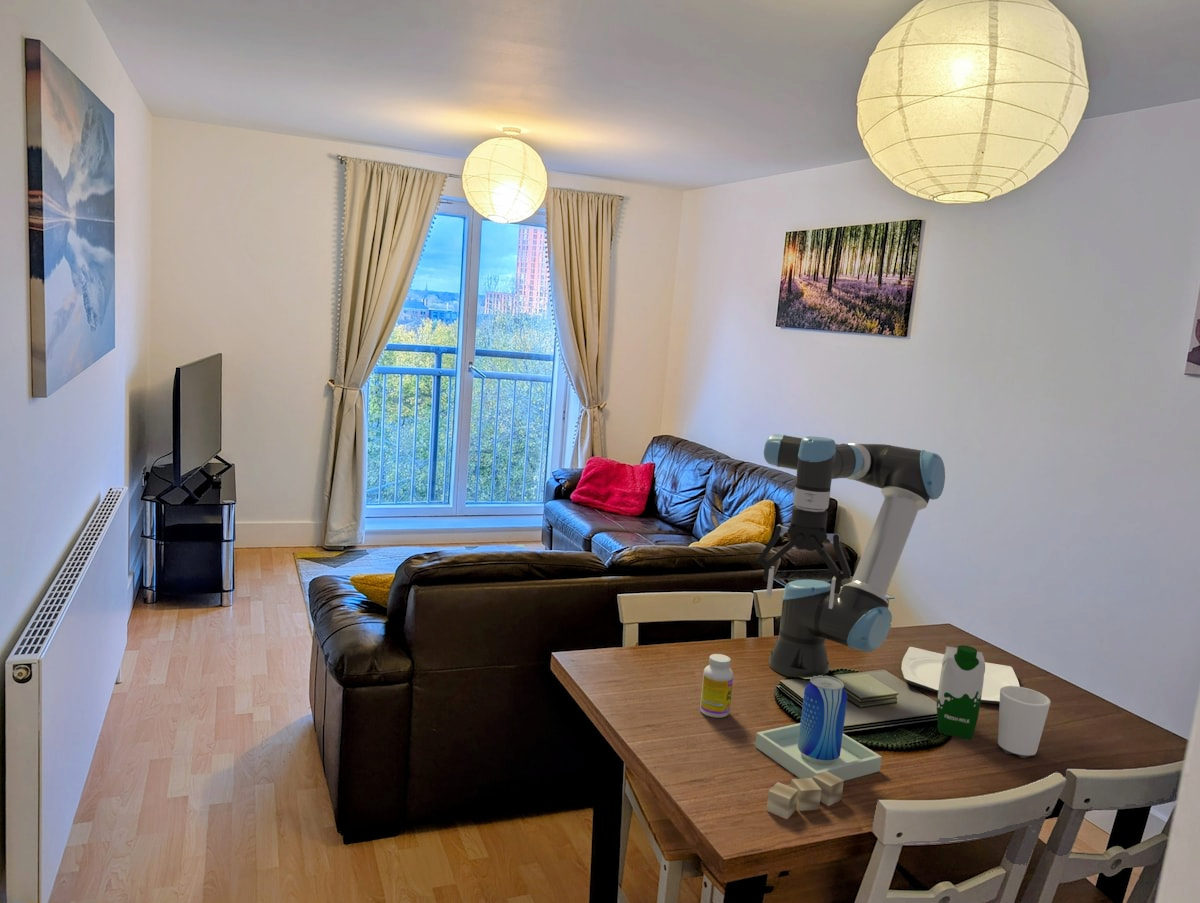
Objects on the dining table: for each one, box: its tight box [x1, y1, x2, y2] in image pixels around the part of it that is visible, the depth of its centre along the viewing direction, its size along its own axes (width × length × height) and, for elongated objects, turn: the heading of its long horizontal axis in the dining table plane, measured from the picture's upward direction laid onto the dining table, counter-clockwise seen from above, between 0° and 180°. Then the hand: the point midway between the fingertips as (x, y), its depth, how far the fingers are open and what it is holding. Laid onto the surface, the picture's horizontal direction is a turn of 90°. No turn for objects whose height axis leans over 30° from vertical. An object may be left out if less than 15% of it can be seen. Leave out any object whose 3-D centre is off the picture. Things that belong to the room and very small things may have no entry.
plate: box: [900, 646, 1021, 705], centre depth 224 cm, size 29×29×3 cm
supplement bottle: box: [699, 653, 734, 719], centre depth 194 cm, size 7×7×13 cm
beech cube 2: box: [790, 778, 822, 812], centre depth 159 cm, size 4×4×4 cm
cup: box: [997, 686, 1052, 759], centre depth 186 cm, size 10×10×13 cm
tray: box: [754, 722, 883, 782], centre depth 177 cm, size 18×18×3 cm
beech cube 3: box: [765, 781, 798, 820], centre depth 156 cm, size 4×4×4 cm
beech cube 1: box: [813, 771, 845, 807], centre depth 162 cm, size 4×4×4 cm
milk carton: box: [936, 645, 986, 741], centre depth 194 cm, size 9×9×20 cm
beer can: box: [798, 675, 848, 765], centre depth 175 cm, size 8×8×16 cm
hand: (799, 601), depth 192 cm, fingers open, 13 cm apart
